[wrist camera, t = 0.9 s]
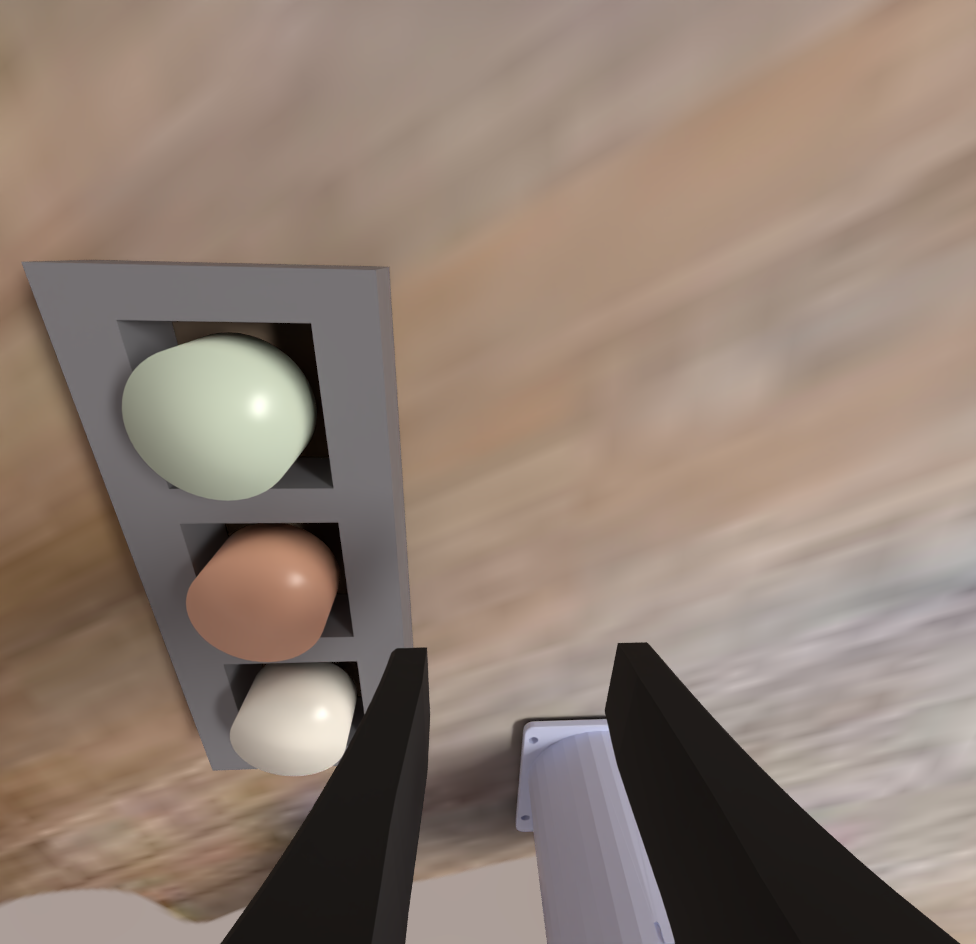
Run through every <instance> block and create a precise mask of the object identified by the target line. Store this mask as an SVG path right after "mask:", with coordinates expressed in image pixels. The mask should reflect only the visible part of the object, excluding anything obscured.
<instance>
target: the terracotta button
mask: <svg viewBox="0 0 976 944" xmlns="http://www.w3.org/2000/svg"><path fill="white" fill-rule="evenodd" d="M339 584H340V569H339V565H338V563H337V560H336V558H335V556H334V554H333V553H332V552H331V550H330V549H329V548H328V547H327V546H326V544H325V543H324V542H322V541H321V540H320V539H319V538H317V537H316V536H315V535H313V534H311V533H310V532H308V531H306V530H304V529H301V528H299V527H296V526H293V525H289V524H284V523H257V524H252V525H249V526H246V527H244V528H241V529H239V530H238V531H236V532H235V533H233V534H232V535H231V536H230V537H229V538H228V539H227V540H226V541H225V543H224V544H223V545H222V546H221V548H220V549H219V550H218V551H217V552H216V554H215V555H214V556H213V557H212V559H211V560H210V561H209V562H208V564H207V565H206V566H205V567H204V569H203V570H202V571H201V572H200V573H199V575H198V576H197V577H196V578H195V580H194V581H193V582H192V584H191V586H190V587H189V590H188V593H187V597H186V609H187V613H188V616H189V619H190V621H191V623H192V625H193V626H194V628H195V629H196V631H197V632H198V633H199V634H200V635H201V636H202V637H203V638H204V639H205V640H206V641H207V642H209V643H210V644H211V645H212V646H214V647H216V648H217V649H219V650H221V651H223V652H225V653H227V654H229V655H232V656H234V657H237V658H241V659H244V660H249V661H256V662H277V661H283V660H288V659H291V658H294V657H297V656H299V655H301V654H303V653H305V652H306V651H308V650H309V649H310V648H312V646H313V645H314V644H315V643H316V642H317V641H318V640H319V638H320V636H321V634H322V632H323V630H324V627H325V624H326V621H327V619H328V616H329V613H330V610H331V608H332V605H333V602H334V599H335V597H336V594H337V591H338V588H339Z"/></svg>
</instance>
